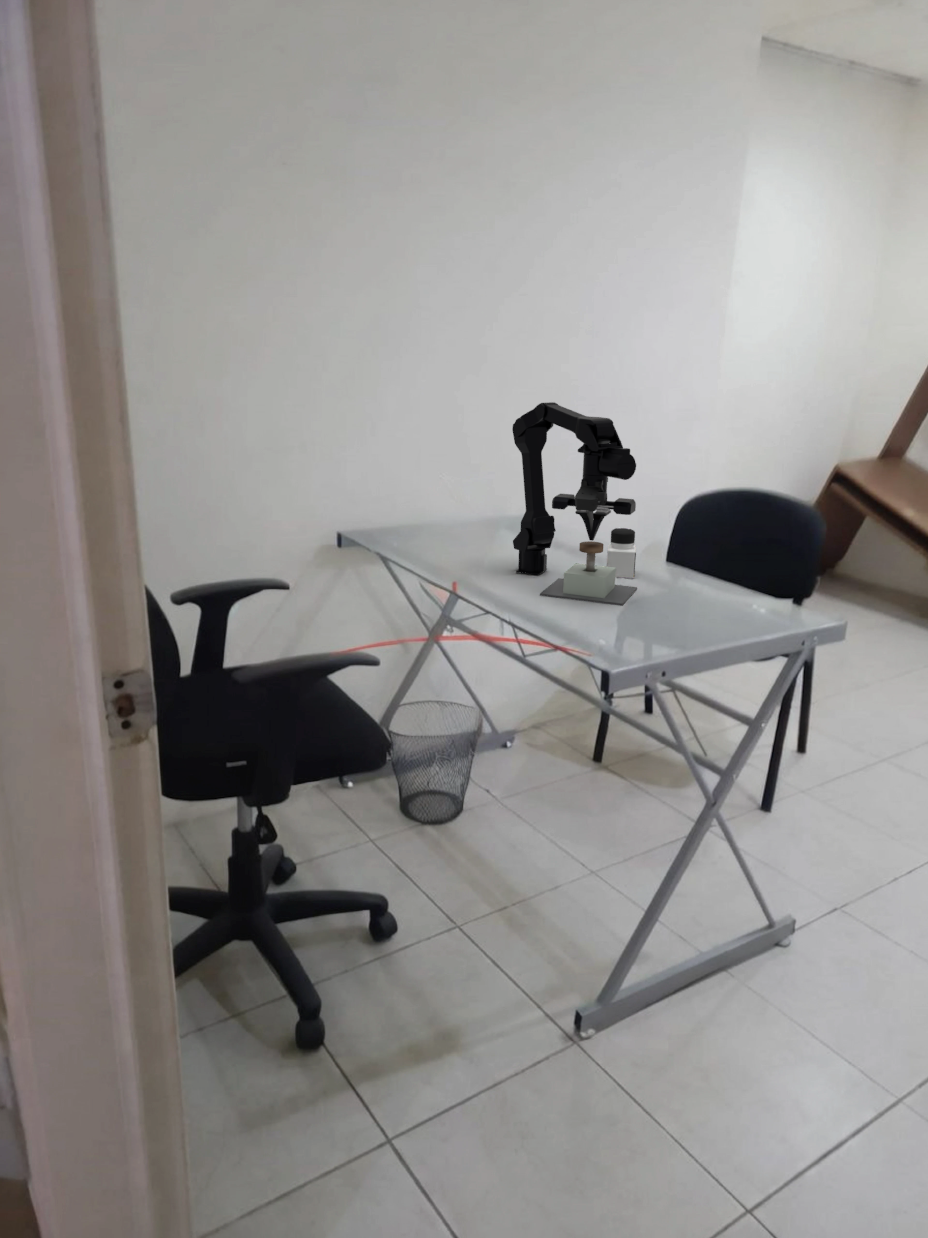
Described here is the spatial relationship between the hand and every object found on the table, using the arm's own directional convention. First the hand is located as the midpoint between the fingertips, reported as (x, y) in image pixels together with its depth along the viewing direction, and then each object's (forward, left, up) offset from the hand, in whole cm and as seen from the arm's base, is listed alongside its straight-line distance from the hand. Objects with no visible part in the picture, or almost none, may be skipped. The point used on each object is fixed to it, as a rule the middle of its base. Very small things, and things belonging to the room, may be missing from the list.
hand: (591, 540), depth 204 cm
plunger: (0, 0, -8) cm, 8 cm away
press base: (0, 0, -13) cm, 13 cm away
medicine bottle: (+3, +19, -13) cm, 24 cm away
